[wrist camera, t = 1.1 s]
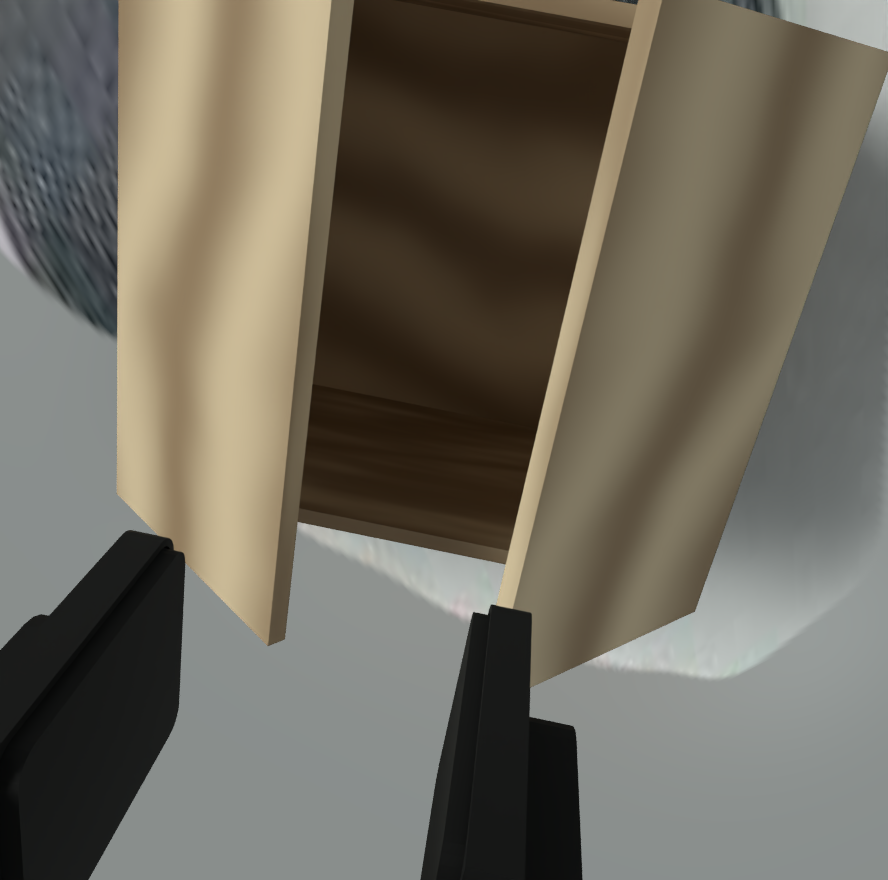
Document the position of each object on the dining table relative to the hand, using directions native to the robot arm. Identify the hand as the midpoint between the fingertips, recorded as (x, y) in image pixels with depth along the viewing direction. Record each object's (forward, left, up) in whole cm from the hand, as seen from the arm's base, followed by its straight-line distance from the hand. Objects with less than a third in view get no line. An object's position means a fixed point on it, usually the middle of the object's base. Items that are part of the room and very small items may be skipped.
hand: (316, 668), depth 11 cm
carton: (0, 0, -31) cm, 31 cm away
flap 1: (0, -7, -15) cm, 17 cm away
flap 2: (0, +7, -15) cm, 16 cm away
